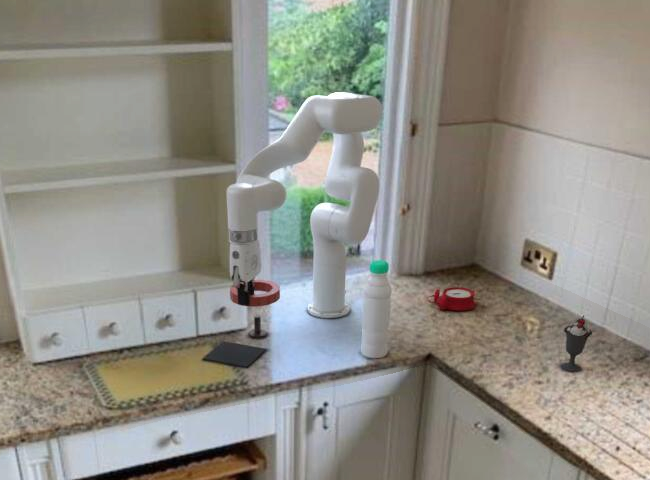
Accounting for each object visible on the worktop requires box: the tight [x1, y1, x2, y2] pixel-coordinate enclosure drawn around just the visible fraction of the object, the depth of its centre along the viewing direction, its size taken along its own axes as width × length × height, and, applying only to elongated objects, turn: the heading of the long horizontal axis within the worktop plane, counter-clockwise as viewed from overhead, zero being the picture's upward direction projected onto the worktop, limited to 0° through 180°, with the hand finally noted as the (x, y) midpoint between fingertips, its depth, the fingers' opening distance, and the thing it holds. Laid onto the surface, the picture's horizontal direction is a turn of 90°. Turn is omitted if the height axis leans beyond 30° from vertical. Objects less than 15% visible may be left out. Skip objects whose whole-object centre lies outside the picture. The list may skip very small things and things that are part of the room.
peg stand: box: [248, 314, 267, 339], centre depth 223 cm, size 5×5×6 cm
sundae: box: [560, 314, 593, 373], centre depth 200 cm, size 7×7×15 cm
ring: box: [229, 279, 281, 308], centre depth 217 cm, size 13×13×3 cm
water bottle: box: [360, 259, 393, 359], centre depth 206 cm, size 7×7×25 cm
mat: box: [202, 341, 267, 369], centre depth 213 cm, size 12×13×1 cm
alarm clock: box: [426, 286, 482, 312], centre depth 240 cm, size 10×6×15 cm
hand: (246, 302), depth 213 cm, fingers closed on ring, 2 cm apart
